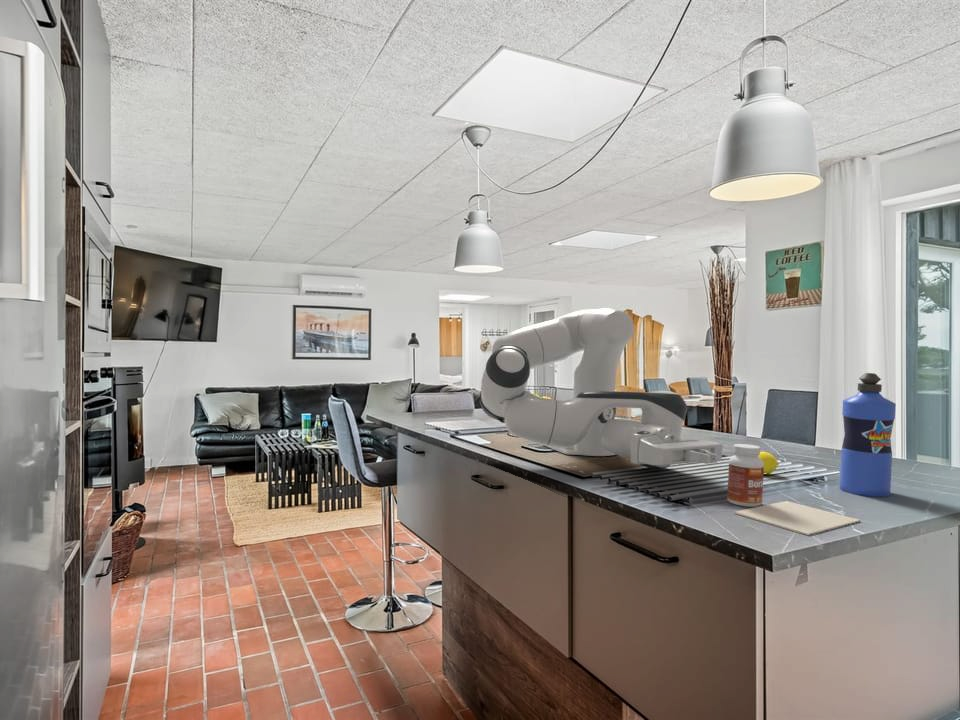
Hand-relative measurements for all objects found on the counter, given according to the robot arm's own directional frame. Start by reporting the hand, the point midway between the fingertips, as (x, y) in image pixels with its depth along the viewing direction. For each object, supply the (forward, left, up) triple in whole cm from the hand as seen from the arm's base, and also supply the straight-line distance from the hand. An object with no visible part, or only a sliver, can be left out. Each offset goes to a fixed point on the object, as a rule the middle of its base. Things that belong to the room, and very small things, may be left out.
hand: (713, 459), depth 120 cm
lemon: (-7, +28, -8) cm, 30 cm away
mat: (+17, +1, -7) cm, 18 cm away
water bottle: (+13, +33, -7) cm, 36 cm away
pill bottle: (+7, +1, -7) cm, 10 cm away
